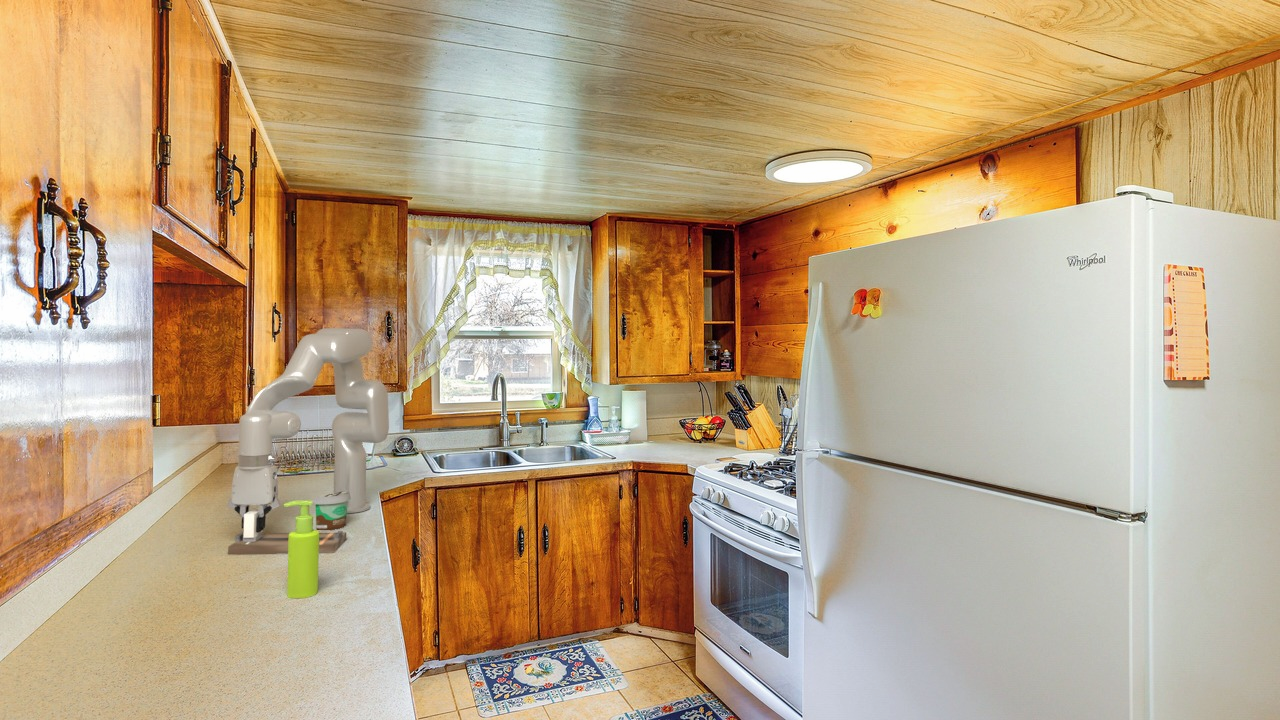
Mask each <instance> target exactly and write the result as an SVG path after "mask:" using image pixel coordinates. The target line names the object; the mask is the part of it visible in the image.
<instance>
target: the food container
mask: <svg viewBox="0 0 1280 720" xmlns="http://www.w3.org/2000/svg"><path fill="white" fill-rule="evenodd" d="M350 499H351V497H350V493H349V491H348V490H345V489H340V492H338V493H335V494H334V493H329V494H326V495H324V496H315V497H314V500H313V504H314V505H315V527H316V528H315V530H330V531H336V530H335V529H337V530H340V528H341V529H343V528H345V527H346V524H347V523H346V522H347V516H348V515H347V514H348V513H347V507H348V500H350ZM344 526H345V527H344ZM342 527H343V528H342Z"/></svg>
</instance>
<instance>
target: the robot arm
mask: <svg viewBox="0 0 1280 720" xmlns="http://www.w3.org/2000/svg"><path fill="white" fill-rule="evenodd" d="M373 341H374V340H373V337H372V335H371V334H370V332H369V331H367V330H366V329H362V328H345V327H344V328H343V327H342V328H341V327H327V328H321V329H319V330H318V331H316V333H310V334H305V335H304V336H303V337H302V338H301V339H300V340H299V342H298V344H297V346H296V348H295V350H294V351H293V353H292V355H291V358H290V360H289V362H288V364H287V365H286V367H285V369H284V371H283V373H282V374H281V375H280V376H279V377H277V378H276V379H274V380H273V381H271V382H270V383H268V384H266V386H265V387H263V388H262V389H261V390H259V391H258V392H257V393H256V394H255V396H254V397H253V398H252V400H251V402H250V403H249V405H248V407H247V410H246V412H245V414H243V415H241V417H240V418H239V422H238V423H239V424H238V429H239V430H238V434H239V435H238V459H237V460H238V465H237V466H235V468H234V473H233V478H232V482H231V491H230V497H229V500H228V503H227V504H226V508H228V509H231V510H233V511H235V512H236V513H237V514H238V516H239V517H240V518H241V529H242V532H243V533H244V514H246V513H247V512H249V511H250V507H251V506H258V507H257V509H258V510H259V514H258V517H257V519H256V532H257V533H259V532H261V531H262V530H264V529H265V527H266V516H267V514H269V513H270V512H271V511H272V510H274V509H276V508H278V507H280V506H281V505H282V504H281V502H280V499H279V486H278V485H279V483H278V475H277V474H278V473H277V468H276V465H275V464H273V463H277V462H278V456H274V454H273V440H275V439H279V440H281V439H282V440H284V439H285V440H287V439H290V438H293V437H294V436H296V435H297V434H298V433H299V431H300V429H301V425H302V422H301V419H300V417H299V416H298V415H297V414H296V413H294V412H292V411H287V410H277V409H276V410H275V409H274V408H275V407H276V406H277V405H278V404H279V403H281V402H282V401H284V400H286V399H288V398H291V397H293V396H298V395H300V394H302V393H304V392H307V391H310V390H311V389H312V388H313V387H314V386H315V383H316V381H317V379H318V378H319V375H320V373H321V371H322V369H323V367H324V365H325V364H332V367H333V374H334V390H335V391H334V393H335V394H334V395H335V401H336V404H337V405H338V406H339V407H340V408H343V409H348V410H349V409H350V410H365V411H367V412H357V411H356V412H355V411H345V412H341V413H339V414H337V415H336V416H334V418H333V419H332V423H331V431H332V432H331V433H332V437H333V438H332V439H333V445H334V447H333V448H334V461H333V462H334V464H333V465H334V466H333V467H334V468H333V494H335V493H338V492H340V489H345V490H348V491H349V493H350V497H351V499H350V500H348V507H347V514H355V513H361V512H365V511H368V510H370V508H371V504H370V503H369V502H367V501H366V486H367V484H366V483H367V482H366V481H367V451H366V449H365V447H364V445H363V444H362V443H368V444H369V443H370V444H379V443H382V442H384V441H385V440H386V439H387V438H388V435H389V431H390V429H389V428H390V417H389V415H390V413H389V397H388V396H389V395H388V390H387V388H386V386H385V385H384V383H383V382H381V381H379V380H373V379H371V380H370V379H365V378H364V369H363V367H364V366H363V362H362V360H361V358H364V357H365V356H367V355H368V354H369V353H370V352H371V350H372V348H373ZM273 409H274V410H273ZM262 532H263V531H262Z"/></svg>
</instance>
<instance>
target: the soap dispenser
mask: <svg viewBox="0 0 1280 720" xmlns="http://www.w3.org/2000/svg"><path fill="white" fill-rule="evenodd" d="M312 505H313V500H310V499H309V500H308V499H307V500H300V499H299V500H298V499H297V500H292V501H289V502H285V503H283V507H285V508H287V507H288V508H289V507H293V506H300V509H299V510H300V511H299V514H298V516H296V517H295V527H294V528H295V529H294V531H291V532H288V533H289V540H288V554H287V577H286V578H287V583H286V588H287V589H286V596H287V597H288V598H290V599H294V598H299V599H305V598H306V597H307V598H310V596H311V597H313V596H316V595H317V593H319V592H318V591H319V590H318V588H319V558H320V557H319V554H320V553H319V533H320V531H317V530H316V529H314V515H312V514H310V506H312Z"/></svg>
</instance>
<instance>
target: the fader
mask: <svg viewBox="0 0 1280 720" xmlns="http://www.w3.org/2000/svg"><path fill="white" fill-rule="evenodd" d="M258 514H259V510H258V508H253V509H251V510H249V512H247V513H246V514H244V536H243V542H256V541H257V540H259V539H260V538H261V537H263V533H264V531H263V530H264V529H263V530H262V531H261V532H259V533H257V532H256V519H257V517H258Z"/></svg>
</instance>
